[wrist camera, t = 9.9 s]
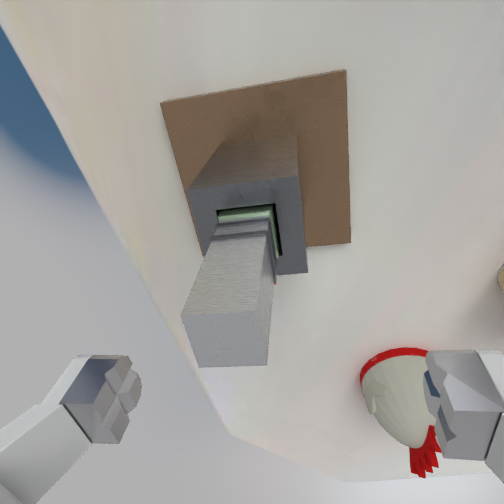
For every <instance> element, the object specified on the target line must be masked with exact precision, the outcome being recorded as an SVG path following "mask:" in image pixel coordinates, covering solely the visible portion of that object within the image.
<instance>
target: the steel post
mask: <svg viewBox="0 0 504 504" xmlns="http://www.w3.org/2000/svg"><path fill="white" fill-rule="evenodd" d="M218 219H219V223H218V224H216V225H215V230H216V232H215V234H214V236H210V239H209V240H210V246H209V249H208V251H207V253H206V256H205V258H204V261H203V263H202V265H201V268H200V270H199V273H198V275H197V277H196V280H195V282H194V285H193V287H192V289H191V292H190V294H189V297H188V299H187V301H186V304H185V306H184V309H183V311H182V313H181V318H182V321H183V324H184V326H185V329H186V332H187V335H188V338H189V340H190V343H191V346H192V349H193V352H194V355H195V357H196V360H197V363H198V366H199V368H200V367H230V366H261V365H267V357H268V345H269V333H270V322H271V310H272V298H273V286H274V283H276V273H275V268H277V258H279V246H278V228H279V225H278V218H277V211H276V204H275V203H272V204H263V205H255V206H246V207H237V208H229V209H225V210H223V211H220V213H219V216H218Z"/></svg>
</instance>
